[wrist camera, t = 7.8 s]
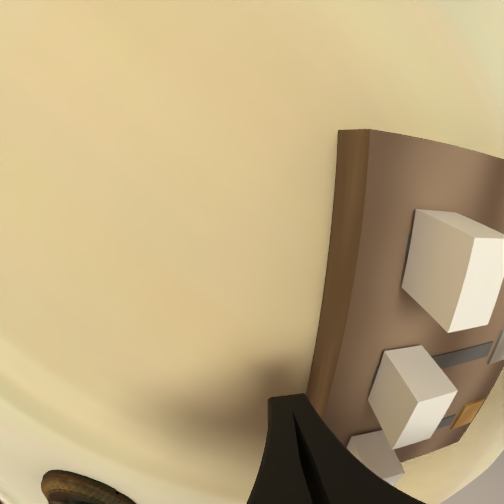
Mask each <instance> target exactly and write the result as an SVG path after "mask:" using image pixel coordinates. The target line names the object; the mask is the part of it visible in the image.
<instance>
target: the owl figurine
mask: <svg viewBox="0 0 504 504" xmlns="http://www.w3.org/2000/svg"><path fill="white" fill-rule="evenodd" d="M41 489H42V492H43V494H44V495H45V497H46V498H47V500H48V502H49V504H136V503H134V502H133V501H132V500H131V499H129V498H128V497H126V496H125V495H123V494H121V493H118V495H119V496H118V495H117V494H116V492H115V490H114V489H113V488H111V487H110V486H107V485H105V484H103V483H101V482H97V481H94V480H92V479H90V478H88V477H85V476H81V475H78V474H76V473H72V472H66V471H63V470H51V471H48V472H47V473H46V474H45V475H44V476H43V479H42V483H41Z"/></svg>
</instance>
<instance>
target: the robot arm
mask: <svg viewBox="0 0 504 504" xmlns="http://www.w3.org/2000/svg"><path fill="white" fill-rule="evenodd" d="M247 504H426V503H423V502H421V501H419V500H417V499H415V498H413V497H411V496H409V495H407V494H405V493H404V492H402V491H400V490H398V489H397V488H395V487H394V486H392V485H391V484H389V483H388V482H386V481H385V480H383V479H382V478H380V477H379V476H377V475H376V474H375V473H374V472H372V471H371V470H370V469H368V468H367V467H366V466H365V465H364V464H363V463H361V462H360V461H359V460H358V459H357V458H356V457H355V456H354V455H353V454H352V453H351V452H350V451H349V450H348V449H347V448H346V447H345V446H344V445H343V444H342V443H341V442H340V441H339V440H338V439H337V437H336V436H335V435H334V434H333V433H332V431H331V430H330V429H329V428H328V427H327V425H326V424H325V423H324V421H323V420H322V419H321V417H320V416H319V415H318V413H317V412H316V410H315V409H314V407H313V406H312V404H311V403H310V401H309V399H308V398H307V396H306V395H305V394H304V393H303V394H295V395H287V396H279V397H271V398H269V399H268V432H267V438H266V444H265V449H264V453H263V457H262V461H261V465H260V468H259V472H258V475H257V478H256V481H255V484H254V486H253V489H252V491H251V494H250V496H249V499H248V501H247Z"/></svg>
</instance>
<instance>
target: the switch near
mask: <svg viewBox="0 0 504 504" xmlns="http://www.w3.org/2000/svg"><path fill="white" fill-rule="evenodd" d="M503 278H504V234H502V233H500V232H498V231H496V230H494V229H492V228H489V227H487V226H485V225H483V224H481V223H479V222H476V221H474V220H472V219H470V218H467V217H465V216H463V215H461V214H458V213H456V212H446V211H434V210H422V209H416V212H415V218H414V225H413V231H412V237H411V243H410V248H409V254H408V259H407V264H406V269H405V273H404V278H403V283H402V288H403V289H404V290H405V291H406V292H407V293H408V294H409V295H410V296H411V297H412V298H413V299H414V300H415V301H416V302H417V303H418V304H419V305H420V306H421V307H422V308H423V309H424V310H426V311H427V312H428V313H429V314H430V315H431V316H432V317H433V318H434V319H435V320H436V321H437V322H438V323H439V325H440V326H441V327H442V328H443V329H444V330H445V331H446V332H447V333H450V332H455V331H460V330H465V329H470V328H475V327H479V326H484V325H488V323H489V320H490V317H491V314H492V312H493V309H494V306H495V303H496V300H497V297H498V294H499V291H500V288H501V284H502V281H503Z"/></svg>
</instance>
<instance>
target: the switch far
mask: <svg viewBox="0 0 504 504" xmlns="http://www.w3.org/2000/svg"><path fill="white" fill-rule="evenodd" d="M347 449H348V450H349V451H350V452H351V453H352V454H353V455H354V456H355V457H356V458H357V459H358V460H359V461H360V462H361V463H363V464H364V465H365V466H366V467H367V468H368V469H370V470H371V471H372V472H374V473H375V474H376V475H377V476H379V477H380V478H382V479H383V480H385V481H386V482H388V483H389V484H391V485H392V486H395V484H396V483H397V482H398V481H399V479H400V478H401V477H402V475H403V474H404V473H405V472H404V470H403V468H402V466H401V463H400V461H399V459H398V457H397V455H396V453H395V451H394V449H393V450H392V448H391V446H390V444H389V442H388V440H387V438H386V436H385V434H384V432H383V430H380V431H376V432H371V433H367V434H362V435H357V436H352V437H351V439H350V441H349V444H348V446H347Z"/></svg>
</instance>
